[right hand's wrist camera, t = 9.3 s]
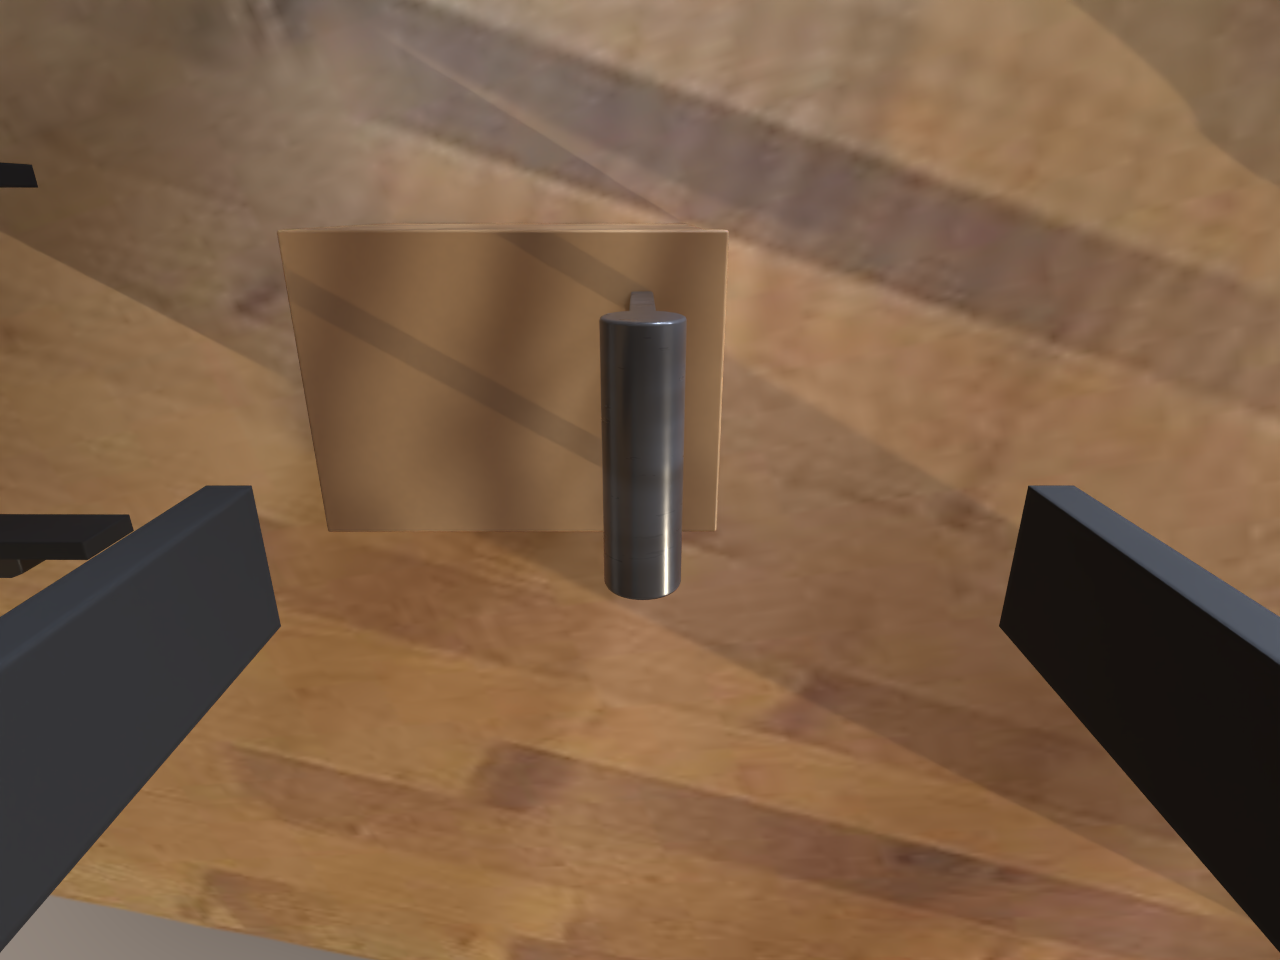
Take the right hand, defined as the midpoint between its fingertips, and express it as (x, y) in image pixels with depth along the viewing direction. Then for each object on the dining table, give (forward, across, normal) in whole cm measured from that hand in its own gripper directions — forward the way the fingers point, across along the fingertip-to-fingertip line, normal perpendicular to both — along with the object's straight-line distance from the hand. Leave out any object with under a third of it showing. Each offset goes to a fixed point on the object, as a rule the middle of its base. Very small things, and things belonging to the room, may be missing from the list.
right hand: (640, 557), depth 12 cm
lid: (+13, -4, 0) cm, 13 cm away
